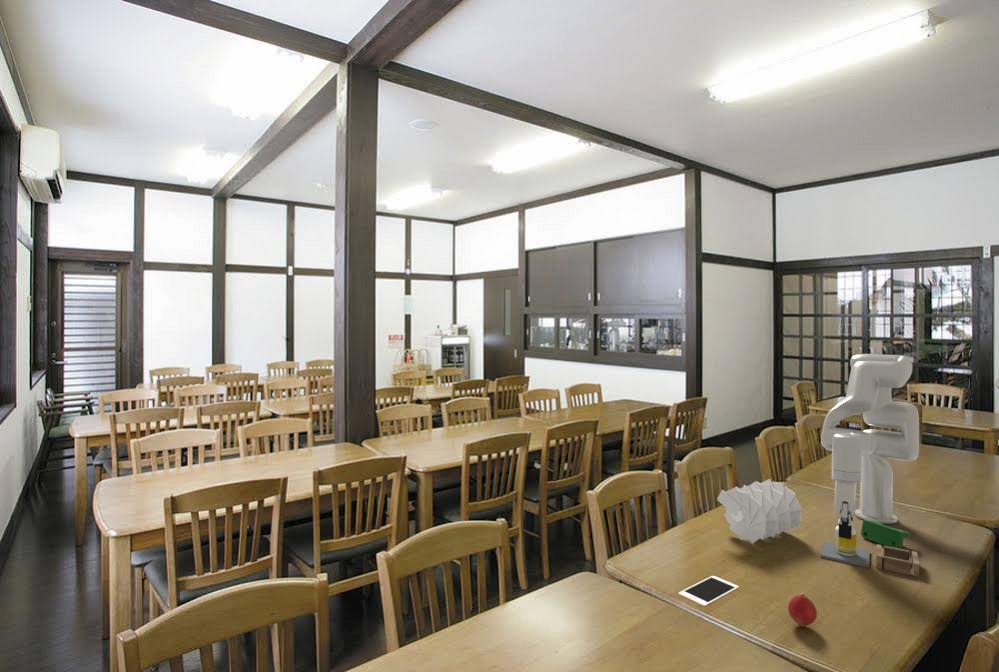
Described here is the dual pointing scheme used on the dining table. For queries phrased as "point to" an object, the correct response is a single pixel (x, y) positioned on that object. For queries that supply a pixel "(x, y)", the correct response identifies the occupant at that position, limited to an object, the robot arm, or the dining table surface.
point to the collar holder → (897, 560)
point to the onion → (802, 610)
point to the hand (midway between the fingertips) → (845, 533)
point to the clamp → (883, 534)
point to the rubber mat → (858, 559)
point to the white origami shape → (761, 510)
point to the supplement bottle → (845, 542)
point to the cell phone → (708, 590)
